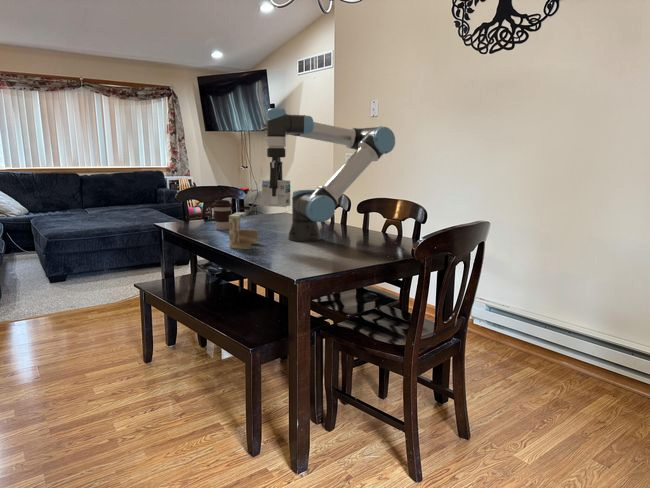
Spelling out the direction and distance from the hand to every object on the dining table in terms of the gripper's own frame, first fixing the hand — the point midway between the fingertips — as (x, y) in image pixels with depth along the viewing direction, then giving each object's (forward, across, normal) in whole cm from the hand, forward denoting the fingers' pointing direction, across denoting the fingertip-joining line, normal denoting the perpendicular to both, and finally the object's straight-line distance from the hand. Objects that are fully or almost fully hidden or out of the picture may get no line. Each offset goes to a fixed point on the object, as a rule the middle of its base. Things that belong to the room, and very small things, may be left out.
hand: (276, 203), depth 191 cm
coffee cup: (+19, -40, -37) cm, 58 cm away
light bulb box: (+1, 0, 0) cm, 1 cm away
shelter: (+19, 0, -14) cm, 24 cm away
